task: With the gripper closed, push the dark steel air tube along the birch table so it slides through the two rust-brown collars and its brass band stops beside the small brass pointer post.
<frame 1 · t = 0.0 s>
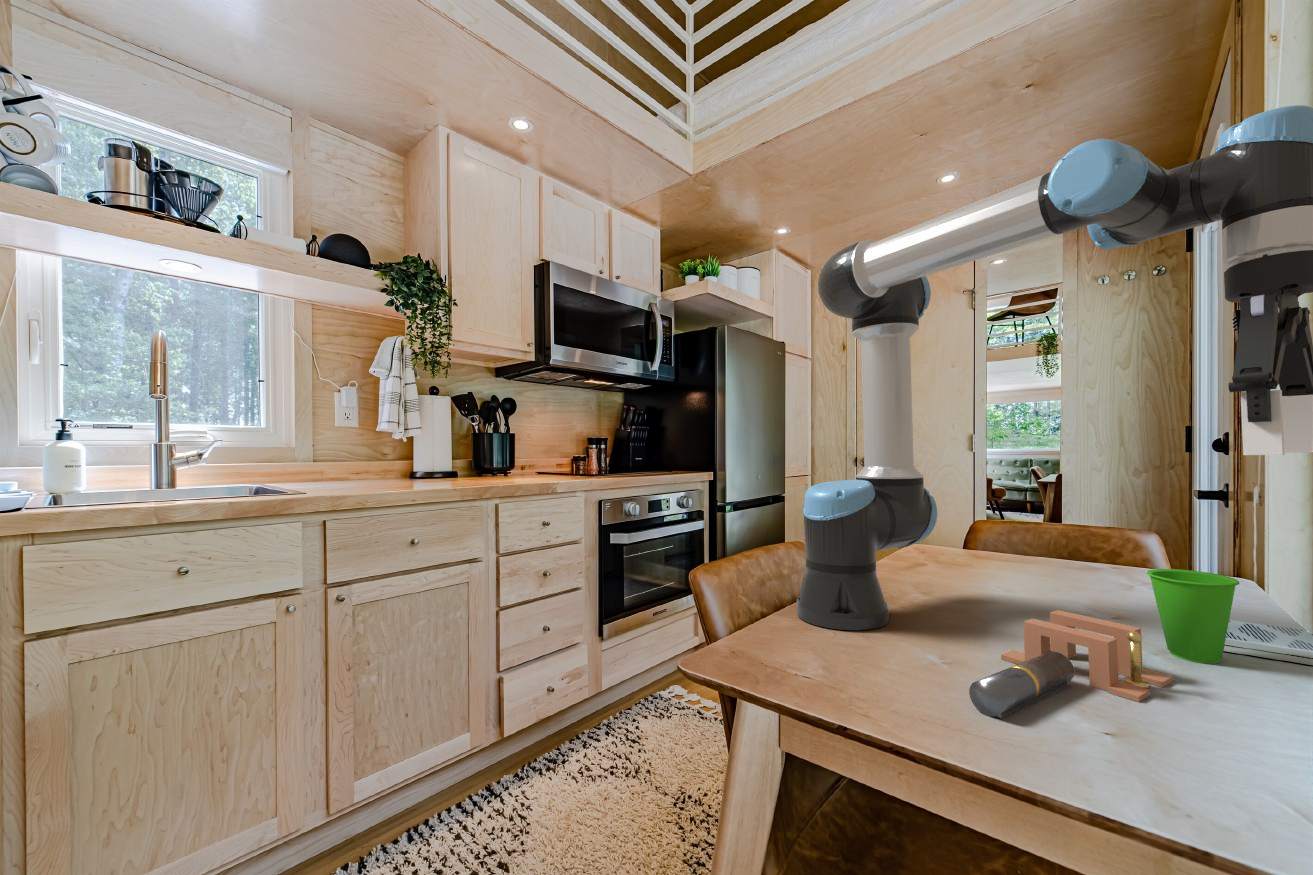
hand: (1282, 454, 58), 28 cm above the table, fingers open, 13 cm apart
cup: (1194, 657, 73), on the table
pointer post: (1136, 685, 65), on the table
collar a: (1069, 675, 68), on the table
collar b: (1094, 663, 72), on the table
tube: (1024, 696, 63), on the table
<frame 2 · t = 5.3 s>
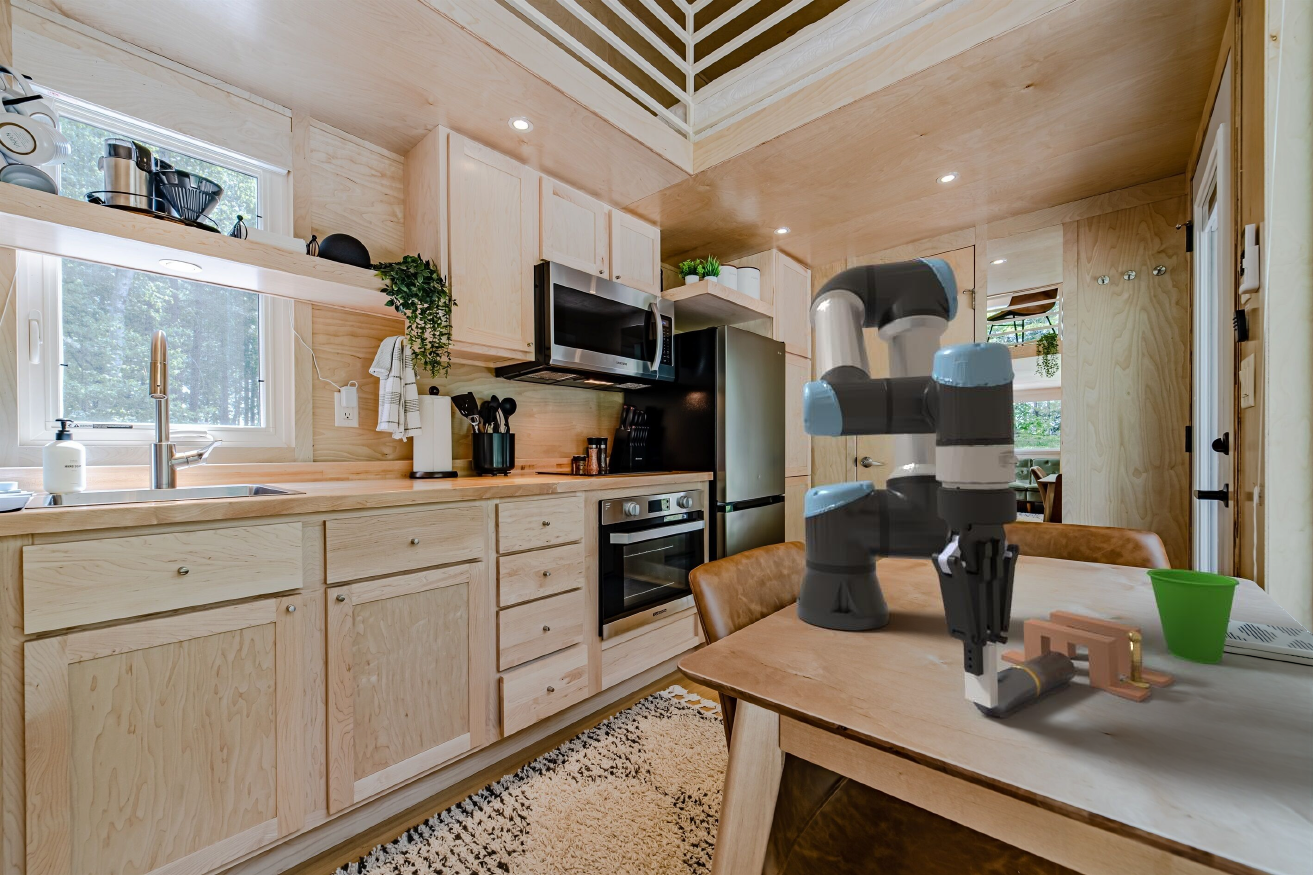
hand: (981, 701, 58), 2 cm above the table, fingers closed
tube: (1025, 696, 63), on the table, touching gripper
everything else where it was.
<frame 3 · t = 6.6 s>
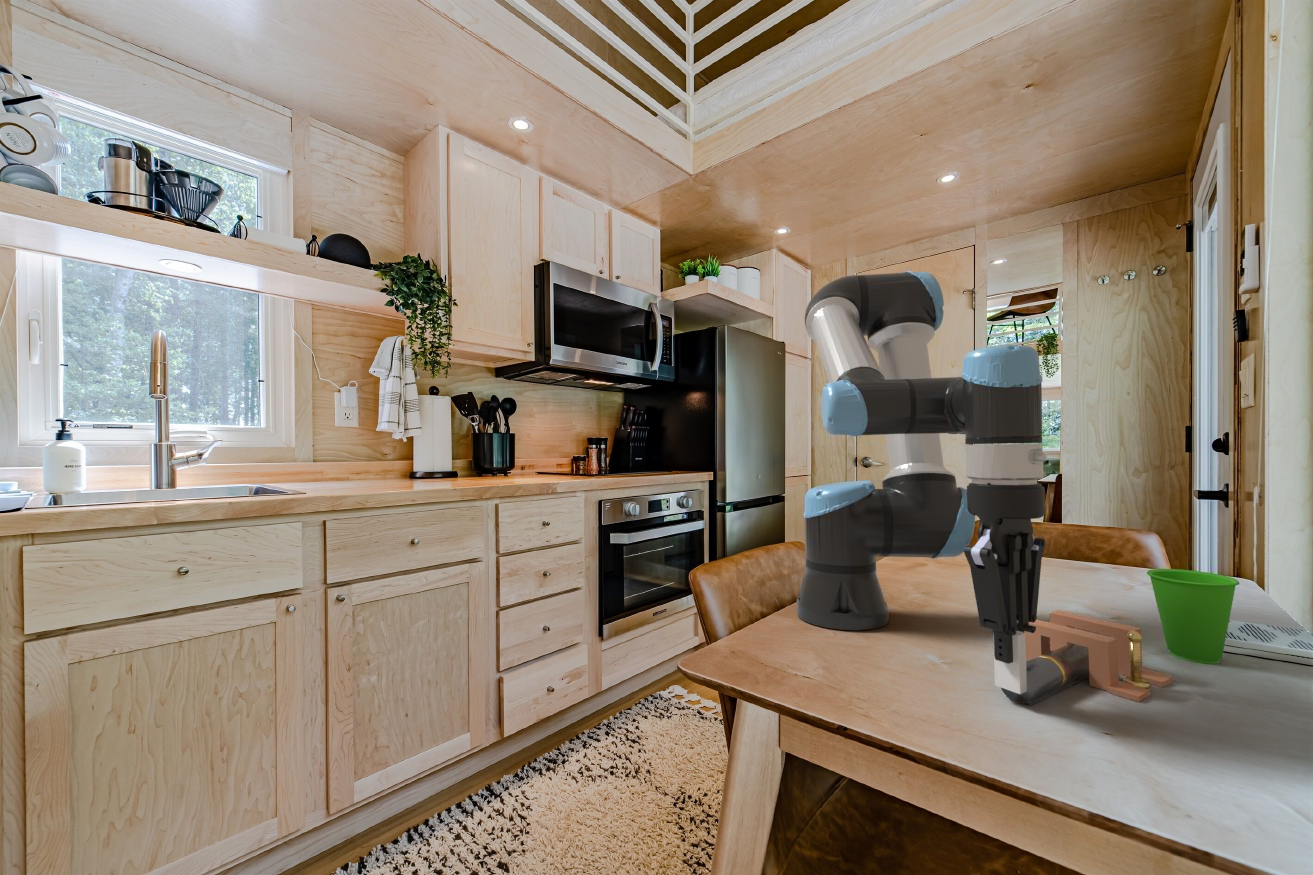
hand: (1010, 687, 61), 2 cm above the table, fingers closed
tube: (1050, 685, 65), on the table, touching gripper
everything else where it was.
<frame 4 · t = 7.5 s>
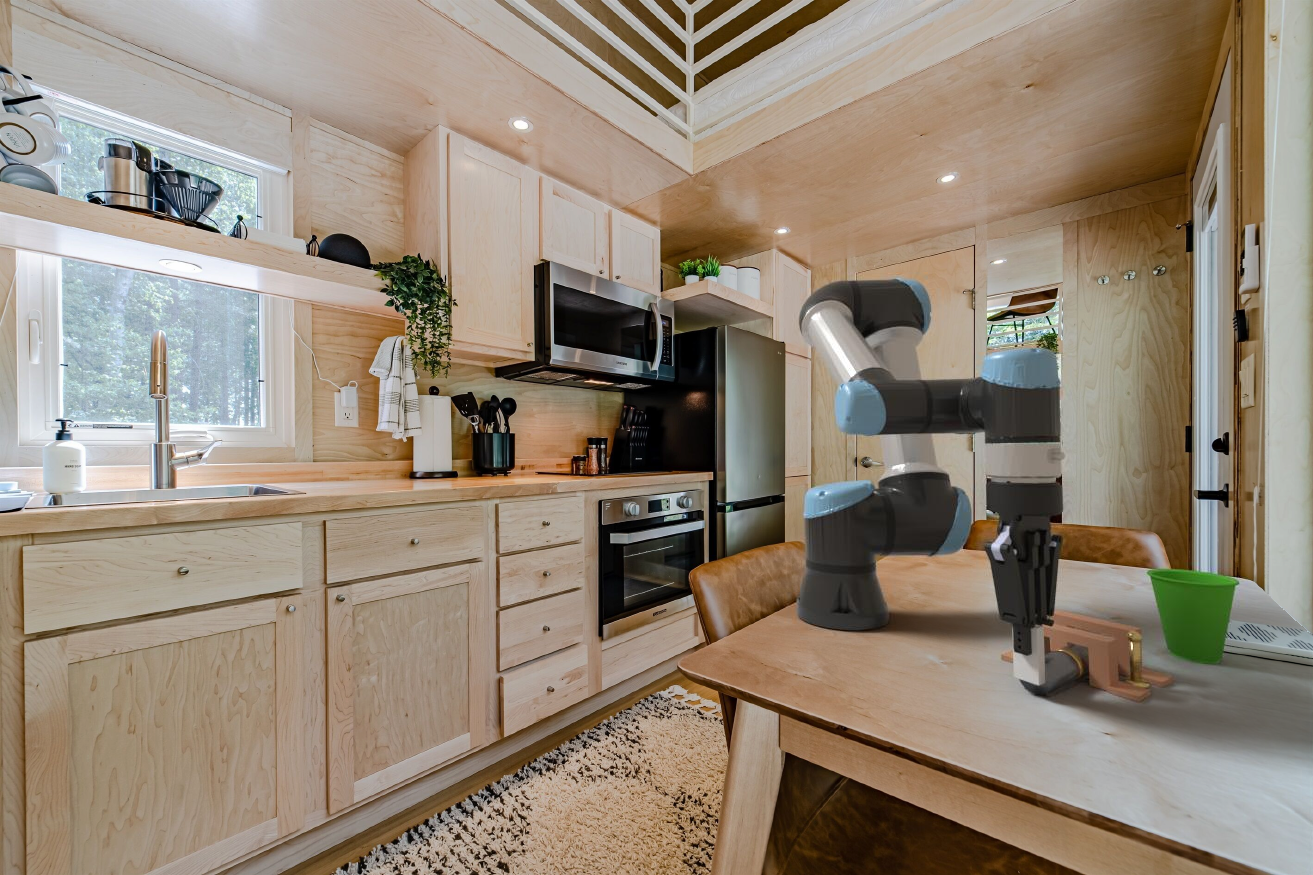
hand: (1029, 679, 63), 2 cm above the table, fingers closed
tube: (1067, 678, 67), on the table, touching gripper
everything else where it was.
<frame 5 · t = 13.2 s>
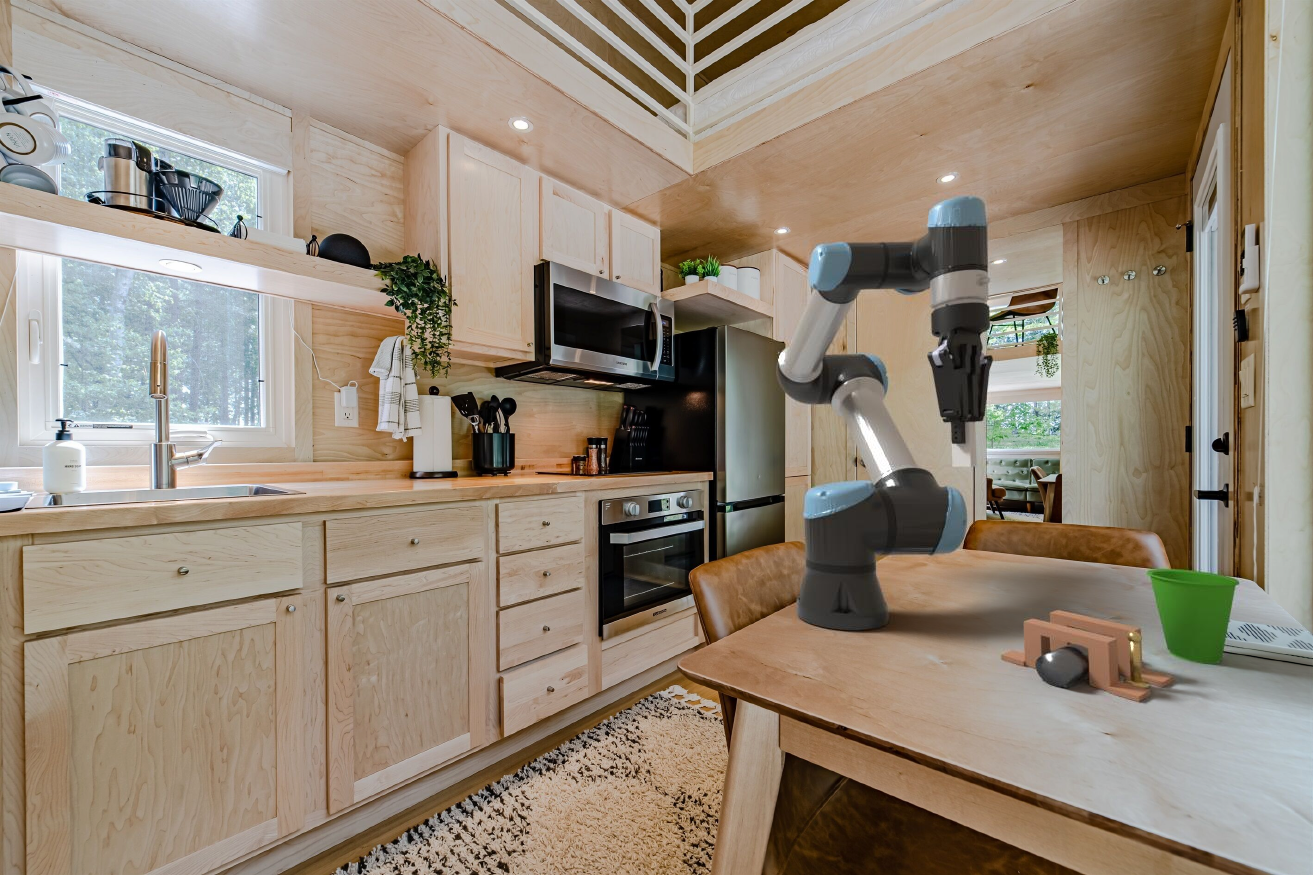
hand: (964, 466, 79), 26 cm above the table, fingers closed
tube: (1083, 670, 69), on the table
everything else where it was.
at the end: tube 1.4 cm from the target spot, on the table; tube on the table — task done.
